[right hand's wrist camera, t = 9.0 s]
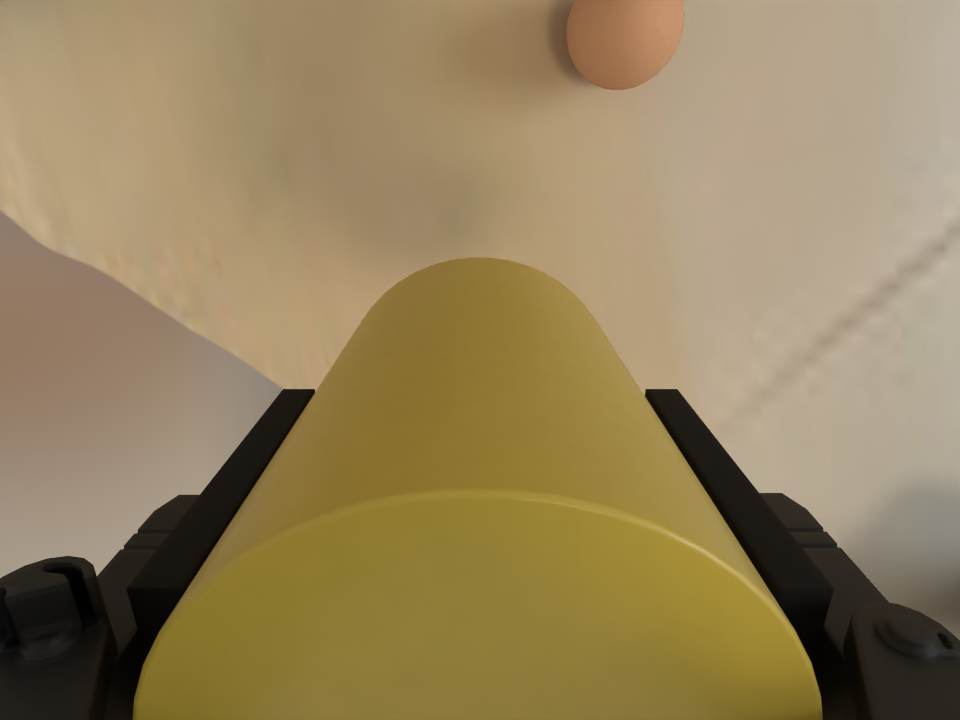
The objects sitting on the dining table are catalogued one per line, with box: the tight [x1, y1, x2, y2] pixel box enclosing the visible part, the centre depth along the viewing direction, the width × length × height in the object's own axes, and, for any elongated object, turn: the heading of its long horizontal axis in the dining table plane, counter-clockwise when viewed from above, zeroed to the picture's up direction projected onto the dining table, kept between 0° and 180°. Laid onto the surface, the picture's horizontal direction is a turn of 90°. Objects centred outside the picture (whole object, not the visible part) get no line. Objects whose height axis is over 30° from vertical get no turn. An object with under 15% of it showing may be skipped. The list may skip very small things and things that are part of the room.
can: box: [133, 258, 823, 720], centre depth 12 cm, size 8×8×11 cm
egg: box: [567, 0, 684, 90], centre depth 31 cm, size 6×6×8 cm
